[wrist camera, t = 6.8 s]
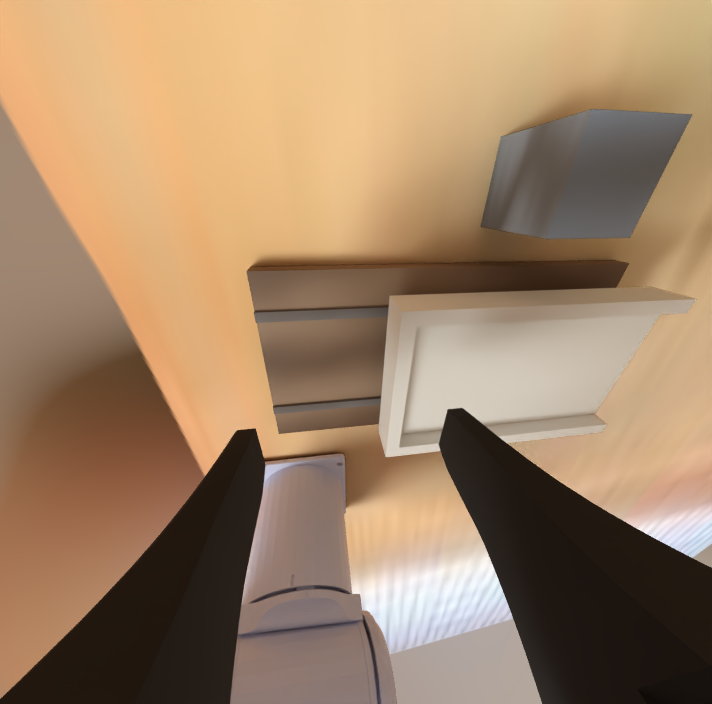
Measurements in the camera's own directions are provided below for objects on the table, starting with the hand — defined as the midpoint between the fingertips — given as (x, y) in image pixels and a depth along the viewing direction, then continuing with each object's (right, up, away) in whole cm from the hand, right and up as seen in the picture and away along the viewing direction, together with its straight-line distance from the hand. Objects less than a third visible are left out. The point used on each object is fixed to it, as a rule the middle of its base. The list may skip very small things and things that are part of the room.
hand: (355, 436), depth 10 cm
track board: (+6, +3, +9) cm, 11 cm away
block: (+9, +12, +4) cm, 16 cm away
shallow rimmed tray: (+9, +3, +8) cm, 13 cm away
